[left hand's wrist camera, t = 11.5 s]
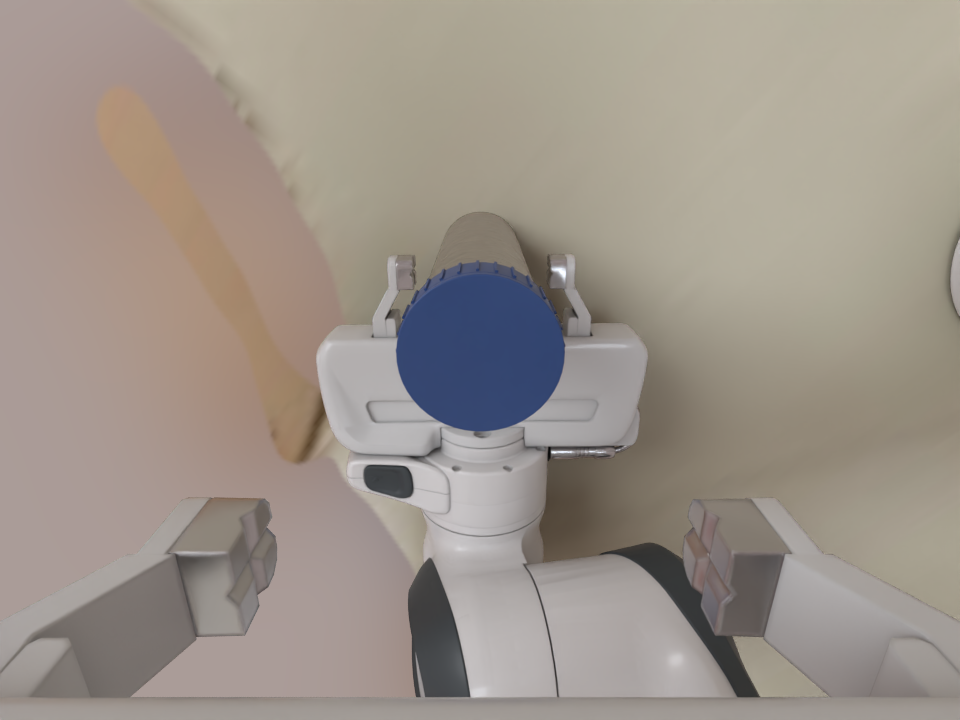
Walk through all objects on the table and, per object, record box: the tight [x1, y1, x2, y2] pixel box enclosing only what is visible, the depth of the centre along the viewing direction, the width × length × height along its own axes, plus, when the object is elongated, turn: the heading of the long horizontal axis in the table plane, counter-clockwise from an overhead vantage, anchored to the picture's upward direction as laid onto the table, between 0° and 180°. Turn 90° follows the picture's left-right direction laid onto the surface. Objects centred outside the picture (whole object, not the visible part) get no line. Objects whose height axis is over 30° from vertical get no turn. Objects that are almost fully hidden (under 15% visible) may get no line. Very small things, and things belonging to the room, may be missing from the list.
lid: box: [396, 260, 565, 431], centre depth 20 cm, size 6×6×2 cm
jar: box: [429, 212, 533, 281], centre depth 29 cm, size 5×5×20 cm
